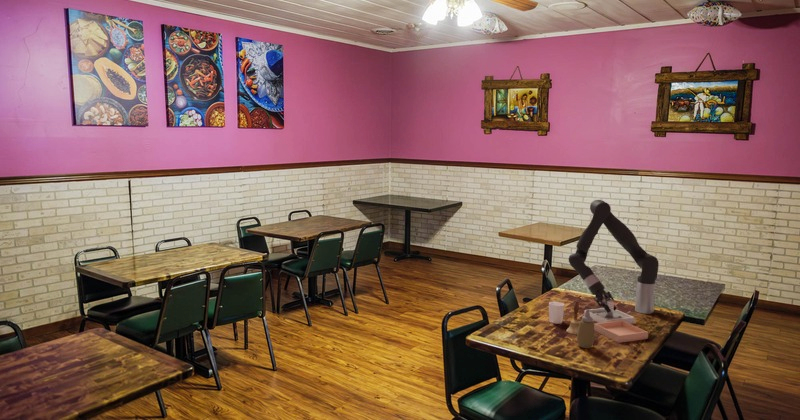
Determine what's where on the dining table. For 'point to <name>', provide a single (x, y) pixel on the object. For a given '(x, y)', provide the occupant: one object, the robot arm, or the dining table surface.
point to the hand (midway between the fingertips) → (612, 310)
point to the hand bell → (574, 321)
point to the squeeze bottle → (586, 331)
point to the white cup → (556, 312)
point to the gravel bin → (599, 317)
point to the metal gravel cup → (611, 306)
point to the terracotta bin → (620, 331)
